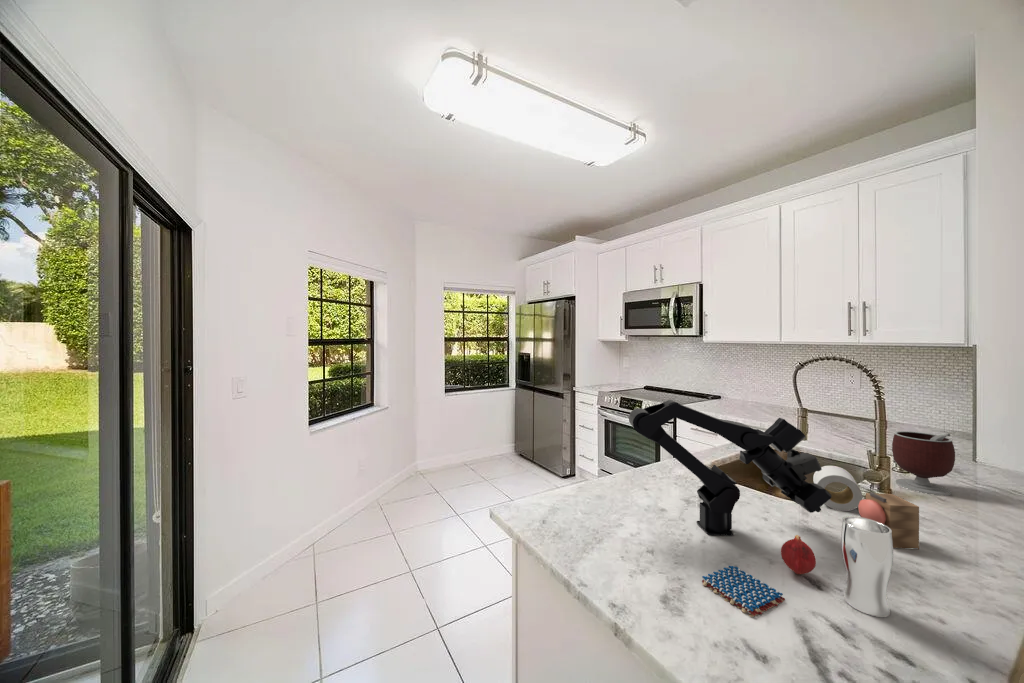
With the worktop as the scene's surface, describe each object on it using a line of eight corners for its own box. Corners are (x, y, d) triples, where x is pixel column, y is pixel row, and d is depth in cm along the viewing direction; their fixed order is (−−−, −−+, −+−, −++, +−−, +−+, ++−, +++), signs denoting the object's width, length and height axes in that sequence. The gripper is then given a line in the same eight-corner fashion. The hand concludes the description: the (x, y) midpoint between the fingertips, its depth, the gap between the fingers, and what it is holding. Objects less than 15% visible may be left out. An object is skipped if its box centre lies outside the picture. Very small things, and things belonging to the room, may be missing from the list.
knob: (878, 531, 88) (878, 505, 88) (858, 518, 93) (858, 495, 93) (914, 533, 87) (914, 507, 86) (892, 520, 92) (892, 496, 92)
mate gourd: (880, 478, 129) (880, 422, 129) (925, 480, 128) (925, 423, 127) (923, 497, 114) (923, 433, 114) (975, 500, 112) (975, 434, 112)
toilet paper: (813, 494, 117) (813, 462, 117) (855, 502, 111) (855, 469, 111) (816, 505, 109) (816, 472, 109) (862, 515, 103) (862, 479, 103)
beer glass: (831, 593, 71) (831, 516, 71) (864, 591, 72) (864, 514, 72) (868, 621, 64) (868, 535, 64) (905, 618, 65) (905, 533, 65)
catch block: (889, 547, 87) (889, 501, 87) (864, 532, 94) (864, 489, 94) (919, 549, 86) (919, 503, 86) (892, 533, 93) (892, 491, 93)
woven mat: (753, 623, 65) (753, 611, 65) (699, 586, 74) (699, 576, 74) (788, 604, 69) (788, 594, 69) (733, 572, 79) (733, 562, 79)
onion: (822, 584, 74) (822, 545, 74) (790, 581, 75) (790, 542, 75) (805, 567, 79) (805, 530, 79) (775, 564, 81) (775, 527, 80)
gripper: (822, 454, 83) (876, 506, 82) (775, 433, 102) (818, 475, 100) (784, 486, 84) (836, 538, 83) (744, 460, 103) (786, 502, 102)
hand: (818, 510), depth 92 cm, fingers closed
